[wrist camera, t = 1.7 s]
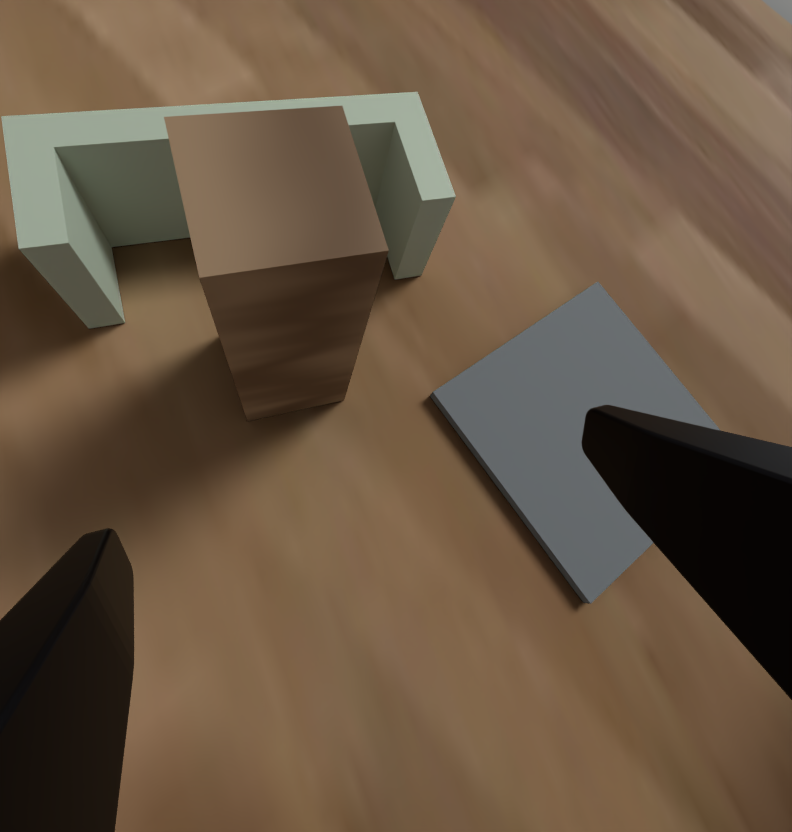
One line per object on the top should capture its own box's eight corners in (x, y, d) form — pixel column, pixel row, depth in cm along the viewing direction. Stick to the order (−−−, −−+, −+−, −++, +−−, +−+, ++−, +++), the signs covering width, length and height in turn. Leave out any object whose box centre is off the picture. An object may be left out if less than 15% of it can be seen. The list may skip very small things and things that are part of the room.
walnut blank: (247, 421, 22) (198, 277, 11) (226, 331, 23) (163, 116, 12) (344, 400, 24) (388, 250, 12) (320, 315, 25) (342, 105, 13)
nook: (88, 328, 22) (18, 248, 17) (72, 224, 23) (1, 116, 18) (421, 275, 26) (455, 196, 21) (392, 188, 28) (417, 92, 22)
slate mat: (583, 602, 23) (590, 603, 22) (429, 396, 24) (433, 392, 24) (732, 458, 27) (742, 456, 26) (591, 287, 28) (597, 281, 28)
